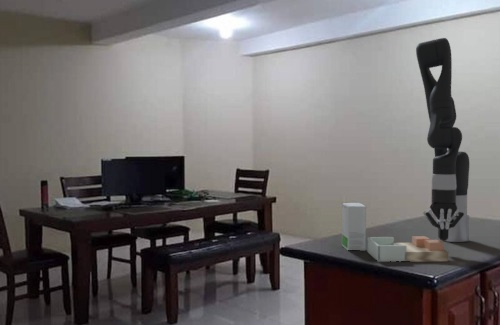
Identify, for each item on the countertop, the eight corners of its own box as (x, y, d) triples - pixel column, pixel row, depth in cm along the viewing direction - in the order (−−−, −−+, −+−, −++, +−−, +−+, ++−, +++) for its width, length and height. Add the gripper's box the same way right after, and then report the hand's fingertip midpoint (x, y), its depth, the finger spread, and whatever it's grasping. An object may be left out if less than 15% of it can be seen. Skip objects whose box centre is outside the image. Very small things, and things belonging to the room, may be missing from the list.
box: (393, 251, 166) (393, 236, 165) (406, 261, 152) (406, 245, 151) (367, 251, 166) (367, 237, 165) (378, 262, 152) (378, 246, 151)
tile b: (438, 247, 158) (438, 239, 158) (443, 250, 153) (443, 242, 153) (424, 247, 158) (424, 239, 158) (429, 250, 153) (429, 242, 153)
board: (431, 251, 166) (431, 242, 166) (448, 261, 152) (448, 251, 152) (393, 251, 166) (393, 242, 166) (406, 261, 152) (406, 252, 152)
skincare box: (341, 246, 175) (341, 202, 175) (359, 245, 176) (359, 202, 175) (348, 251, 167) (348, 205, 166) (366, 250, 168) (366, 205, 167)
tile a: (425, 243, 164) (425, 236, 164) (430, 246, 159) (430, 238, 159) (411, 243, 164) (411, 236, 164) (416, 246, 159) (416, 238, 159)
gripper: (459, 186, 165) (458, 238, 165) (419, 186, 165) (419, 238, 165) (469, 188, 157) (468, 242, 158) (427, 188, 157) (426, 242, 158)
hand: (443, 240), depth 162 cm, fingers closed
